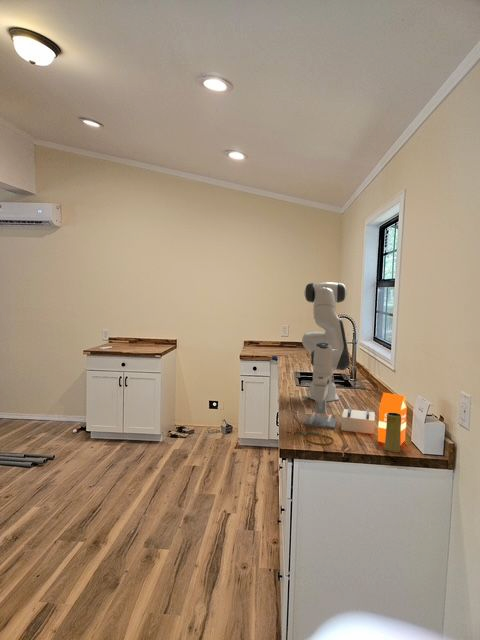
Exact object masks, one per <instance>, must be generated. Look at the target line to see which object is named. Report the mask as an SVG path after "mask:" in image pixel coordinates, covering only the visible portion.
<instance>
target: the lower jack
mask: <svg viewBox="0 0 480 640" xmlns="http://www.w3.org/2000/svg"><path fill="white" fill-rule="evenodd" d="M337 423H338V417H337V418H336V417H333V415H332V414H329V415H328V417H327V416H318V415H317V416H316V412H314V411H313V412H312V414H311V415H307V416H306V419H305V421H304V422H303V426H305V427H311V428H314V427H315V428H322V429H330V430H335V429H336V427H337Z"/></svg>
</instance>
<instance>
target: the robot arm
mask: <svg viewBox="0 0 480 640" xmlns="http://www.w3.org/2000/svg"><path fill="white" fill-rule="evenodd" d="M347 291H348V290H347V289H346V286H345V284H344V283H342V282H341V283H340V282H329V281H328V282H317V283H315V282H310V283H308V284H306V287H305V289H304V292H303V293H304V297H305V300H306V301H307V302H308V303H312V304H313V319H314V322H315V324H316V326H318V327H319V328H321V329H323V330H324V331H309V332H305V333H304V334H303V336H302V339H301V343H302V345H303V348H305V350H307V351H308V352H309V354H310V356H311V357H310V359H311V360H310V364H311V365H312V366H313V369H312V381H311V382H310V383H309V393H308V394H306V398H309V399H311V400H315V403H317V402H318V405H319V407H318V408H319V409H322V408H323V401H324V399H326V402H331V401H332V402H333V401H340V397H339V396H338V393H337V389H336V388H337V385H336V383H335V381H334V379H335V376H334V370H337V371H339V370H340V371H344V370H346V369H348V368H349V367H350V365H351V355H350V353H349V348H348V344H349V343H348V337H347V336H346V332H345V327H344V323H343V320H342V318H340V317H339V316H338V315H337V312H336V303H342V302H344V301H345V299H346V297H347V295H348V294H347Z"/></svg>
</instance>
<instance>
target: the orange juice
mask: <svg viewBox="0 0 480 640" xmlns="http://www.w3.org/2000/svg"><path fill="white" fill-rule="evenodd" d="M407 409H408V407H407V404H406V397H405V395H402V394H393V393H389V392H383V394H382V397H381V401H380V404H379V410H378V412H379V413H378V429H377V430H378V431H377V432H378V433H377V434H378V436H377V441H378V442H379V443H384V444H385V437H386V425H387V413H389V412H394V413H399V414H401V445H403V444H404V443H405V442H406V433H407V432H406V430H407V411H408V410H407ZM404 441H405V442H404ZM403 442H404V443H403ZM402 443H403V444H402Z"/></svg>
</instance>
